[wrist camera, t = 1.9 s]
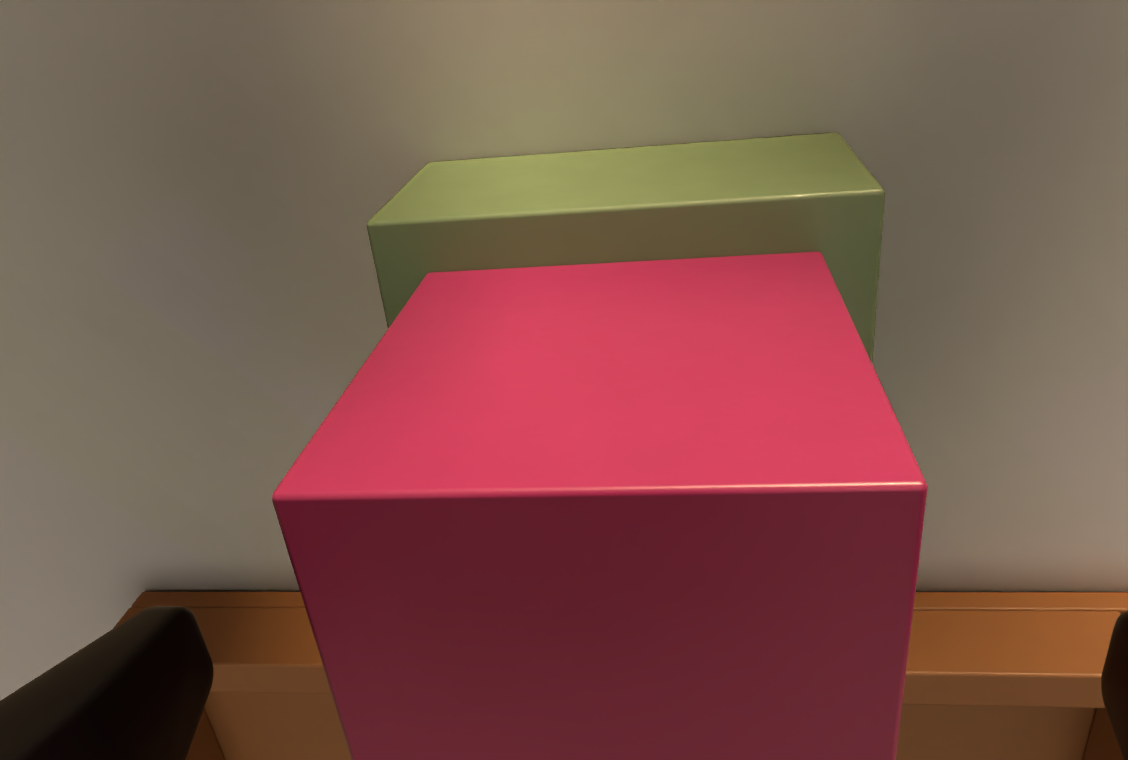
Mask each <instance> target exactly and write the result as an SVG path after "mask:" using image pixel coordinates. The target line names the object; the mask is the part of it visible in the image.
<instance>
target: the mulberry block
mask: <svg viewBox="0 0 1128 760" xmlns="http://www.w3.org/2000/svg"><path fill="white" fill-rule="evenodd" d="M927 488H928V486H927V484H926V482H925V479H924V477H923V475H922V473H921V471H920V468H919V466H918V464H917V462H916V460H915V457H914V455H913V453H912V451H911V449H910V446H909V444H908V442H907V440H906V438H905V435H904V433H903V431H902V429H901V427H900V424H899V422H898V420H897V418H896V416H895V413H894V411H893V409H892V407H891V405H890V402H889V400H888V398H887V396H886V394H885V391H884V389H883V387H882V385H881V383H880V380H879V378H878V376H877V374H876V372H875V369H874V367H873V365H872V363H871V361H870V358H869V356H868V354H867V352H866V350H865V347H864V345H863V343H862V341H861V339H860V336H859V334H858V332H857V330H856V328H855V325H854V323H853V321H852V319H851V317H850V314H849V312H848V310H847V308H846V306H845V303H844V301H843V299H842V297H841V295H840V292H839V290H838V288H837V286H836V284H835V281H834V279H833V277H832V275H831V273H830V270H829V268H828V266H827V264H826V262H825V259H824V257H823V255H822V253H820V252H801V253H782V254H764V255H746V256H727V257H709V258H690V259H672V260H654V261H635V262H617V263H598V264H580V265H561V266H543V267H525V268H506V269H488V270H469V271H451V272H433V273H428V274H426V276H425V277H424V279H423V280H422V281H421V283H420V284H419V286H418V287H417V289H416V290H415V291H414V293H413V294H412V296H411V297H410V298H409V300H408V301H407V303H406V304H405V306H404V307H403V308H402V310H401V311H400V313H399V314H398V316H397V317H396V318H395V320H394V321H393V323H392V324H391V326H390V327H389V328H388V330H387V331H386V333H385V334H384V335H383V337H382V338H381V340H380V341H379V343H378V344H377V345H376V347H375V348H374V350H373V351H372V353H371V354H370V355H369V357H368V358H367V360H366V361H365V363H364V364H363V365H362V367H361V368H360V370H359V371H358V372H357V374H356V375H355V377H354V378H353V380H352V381H351V382H350V384H349V385H348V387H347V388H346V390H345V391H344V392H343V394H342V395H341V397H340V398H339V400H338V401H337V402H336V404H335V405H334V407H333V408H332V409H331V411H330V412H329V414H328V415H327V417H326V418H325V419H324V421H323V422H322V424H321V425H320V427H319V428H318V429H317V431H316V432H315V434H314V435H313V437H312V438H311V439H310V441H309V442H308V444H307V445H306V447H305V448H304V449H303V451H302V452H301V454H300V455H299V456H298V458H297V459H296V461H295V462H294V464H293V465H292V466H291V468H290V469H289V471H288V472H287V474H286V475H285V476H284V478H283V479H282V481H281V482H280V484H279V485H278V486H277V488H276V489H275V491H274V492H273V497H272V501H273V505H274V508H275V511H276V514H277V518H278V521H279V524H280V527H281V530H282V534H283V537H284V540H285V543H286V547H287V550H288V553H289V556H290V560H291V563H292V566H293V569H294V573H295V576H296V579H297V582H298V586H299V589H300V592H301V595H302V599H303V602H304V605H305V608H306V612H307V615H308V618H309V621H310V625H311V628H312V631H313V634H314V638H315V641H316V644H317V647H318V651H319V654H320V657H321V660H322V664H323V667H324V670H325V673H326V677H327V680H328V683H329V686H330V690H331V693H332V696H333V699H334V703H335V706H336V709H337V712H338V716H339V719H340V722H341V725H342V729H343V732H344V735H345V738H346V742H347V745H348V748H349V751H350V755H351V758H352V760H896V753H897V745H898V736H899V728H900V719H901V711H902V702H903V694H904V685H905V676H906V668H907V659H908V651H909V642H910V634H911V625H912V616H913V608H914V599H915V591H916V582H917V574H918V565H919V557H920V548H921V539H922V531H923V522H924V514H925V505H926V497H927Z"/></svg>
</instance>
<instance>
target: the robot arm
mask: <svg viewBox="0 0 1128 760" xmlns="http://www.w3.org/2000/svg"><path fill="white" fill-rule="evenodd" d="M213 676H214V669H213V662H212V659H211V656H210V654H209V651H208V648H207V646H206V643H205V641H204V638H203V636H202V633H201V630H200V628H199V625H198V623H197V620H196V618H195V616H194V614H193V612H192V611H191V610H189V609H188V608H186V607H183V606H153V607H148V608H146V609H144V610H142V611H141V612H139V613H137V614H136V615H134V616H133V617H131V618H130V619H128V620H126V621H125V622H123V623H122V624H120V625H119V626H117V627H115V628H114V629H112V630H111V631H109V632H108V633H106V634H104V635H103V636H101V637H100V638H98V639H97V640H95V641H93V642H92V643H90V644H89V645H87V646H86V647H84V648H83V649H81V650H79V651H78V652H76V653H75V654H73V655H72V656H70V657H68V658H67V659H65V660H64V661H62V662H61V663H59V664H57V665H56V666H54V667H53V668H51V669H50V670H48V671H46V672H45V673H43V674H42V675H40V676H39V677H37V678H35V679H34V680H32V681H31V682H29V683H28V684H26V685H25V686H23V687H21V688H20V689H18V690H17V691H15V692H14V693H12V694H10V695H9V696H7V697H6V698H4V699H3V700H1V701H0V760H186V758H187V755H188V752H189V749H190V747H191V744H192V741H193V738H194V735H195V733H196V730H197V727H198V724H199V721H200V718H201V716H202V713H203V710H204V707H205V704H206V702H207V699H208V696H209V693H210V690H211V687H212V683H213ZM1101 692H1102V697H1103V702H1104V705H1105V708H1106V711H1107V714H1108V716H1109V719H1110V722H1111V725H1112V728H1113V731H1114V734H1115V736H1116V739H1117V742H1118V745H1119V748H1120V751H1121V753H1122V756H1123V759H1124V760H1128V611H1126V612H1123V613H1122V614H1120V616H1119V617H1118V618H1117V620H1116V622H1115V625H1114V629H1113V633H1112V636H1111V640H1110V644H1109V648H1108V652H1107V656H1106V660H1105V663H1104V667H1103V671H1102V676H1101Z"/></svg>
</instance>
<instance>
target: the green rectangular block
mask: <svg viewBox="0 0 1128 760" xmlns="http://www.w3.org/2000/svg"><path fill="white" fill-rule="evenodd" d="M884 198H885V192H884V190H883V188H882V187H881V186H880V184H879V183H878V182H877V181H876V179H875V178H874V177H873V176H872V174H871V173H870V172H869V171H868V169H867V168H866V167H865V166H864V164H863V163H862V162H861V161H860V159H859V158H858V157H857V156H856V154H855V153H854V152H853V151H852V149H851V148H850V147H849V146H848V144H847V143H846V142H845V141H844V139H843V138H842V137H841V136H840V134H838V133H823V134H810V135H796V136H782V137H769V138H755V139H741V140H728V141H714V142H700V143H687V144H673V145H660V146H646V147H632V148H619V149H605V150H591V151H578V152H564V153H551V154H537V155H523V156H510V157H496V158H482V159H469V160H455V161H441V162H430V163H428V164H426V165H425V166H424V167H423V168H422V169H421V170H420V171H419V172H418V173H417V174H416V175H415V176H414V177H413V178H412V179H411V180H410V181H409V182H408V183H407V184H406V185H405V186H404V187H403V188H402V189H401V190H400V191H399V192H398V193H397V194H396V195H395V196H394V197H393V198H392V199H391V200H390V201H389V202H388V203H386V204H385V205H384V206H383V207H382V208H381V209H380V210H379V211H378V212H377V213H376V214H375V215H374V216H373V217H372V218H371V219H370V220H369V221H368V222H367V230H368V235H369V240H370V245H371V249H372V254H373V259H374V264H375V268H376V273H377V278H378V283H379V288H380V292H381V297H382V302H383V307H384V311H385V316H386V321H387V326H388V328H389V327H390V326H391V324H392V323H393V321H394V320H395V318H396V317H397V316H398V314H399V313H400V311H401V310H402V308H403V307H404V306H405V304H406V303H407V301H408V300H409V298H410V297H411V296H412V294H413V293H414V291H415V290H416V289H417V287H418V286H419V284H420V283H421V281H422V280H423V279H424V277H425V276H426V274H428V273H433V272H451V271H469V270H488V269H506V268H525V267H543V266H561V265H580V264H598V263H617V262H635V261H654V260H672V259H690V258H709V257H727V256H746V255H764V254H782V253H801V252H820V253H822V255H823V257H824V259H825V262H826V264H827V266H828V268H829V270H830V273H831V275H832V277H833V279H834V281H835V284H836V286H837V288H838V290H839V292H840V295H841V297H842V299H843V301H844V303H845V306H846V308H847V310H848V312H849V314H850V317H851V319H852V321H853V323H854V325H855V328H856V330H857V332H858V334H859V336H860V339H861V341H862V343H863V345H864V347H865V350H866V352H867V354H868V356H869V358H870V361H871V363H872V357H873V344H874V331H875V317H876V304H877V291H878V277H879V264H880V251H881V238H882V224H883V211H884Z"/></svg>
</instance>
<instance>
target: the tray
mask: <svg viewBox="0 0 1128 760" xmlns="http://www.w3.org/2000/svg"><path fill="white" fill-rule="evenodd" d="M153 606H183V607H186V608H188V609H189V610H191V611H192V612H193V614H194V616H195V618H196V620H197V623H198V625H199V628H200V630H201V633H202V636H203V638H204V641H205V643H206V646H207V648H208V651H209V654H210V656H211V659H212V662H213V669H214V676H213V683H212V687H211V690H210V693H209V696H208V699H207V702H206V704H205V707H204V710H203V713H202V716H201V718H200V721H199V724H198V727H197V730H196V733H195V735H194V738H193V741H192V744H191V747H190V749H189V752H188V755H187V758H186V760H352V758H351V755H350V751H349V748H348V745H347V742H346V738H345V735H344V732H343V729H342V725H341V722H340V719H339V716H338V712H337V709H336V706H335V703H334V699H333V696H332V693H331V690H330V686H329V683H328V680H327V677H326V673H325V670H324V667H323V664H322V660H321V657H320V654H319V651H318V647H317V644H316V641H315V638H314V634H313V631H312V628H311V625H310V621H309V618H308V615H307V612H306V608H305V605H304V602H303V599H302V595H301V592H143V593H141V595H140V596H139V597H138V598H137V600H136V601H135V602H134V603H133V605H132V607H131V608H129V609H128V611H127V612H126V613H125V614H124V616H123V617H122V618H121V619H120V621H119V622H118V623H117V624H116V626H115V627H117V626H119V625H120V624H122V623H123V622H125V621H126V620H128V619H130V618H131V617H133V616H134V615H136V614H137V613H139V612H141V611H142V610H144V609H146V608H148V607H153ZM1126 611H1128V592H915V599H914V608H913V616H912V625H911V634H910V642H909V651H908V659H907V668H906V676H905V685H904V694H903V702H902V711H901V719H900V728H899V736H898V745H897V753H896V760H1124V759H1123V756H1122V753H1121V751H1120V748H1119V745H1118V742H1117V739H1116V736H1115V734H1114V731H1113V728H1112V725H1111V722H1110V719H1109V716H1108V714H1107V711H1106V708H1105V705H1104V702H1103V697H1102V692H1101V676H1102V671H1103V667H1104V663H1105V660H1106V656H1107V652H1108V648H1109V644H1110V640H1111V636H1112V633H1113V629H1114V625H1115V622H1116V620H1117V618H1118V617H1119V616H1120V614H1122V613H1123V612H1126ZM115 627H114V628H115ZM114 628H113V629H114Z"/></svg>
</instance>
